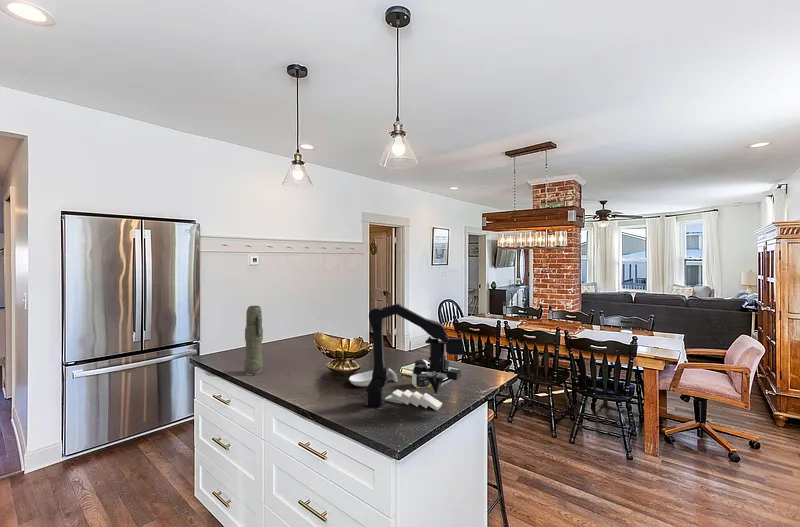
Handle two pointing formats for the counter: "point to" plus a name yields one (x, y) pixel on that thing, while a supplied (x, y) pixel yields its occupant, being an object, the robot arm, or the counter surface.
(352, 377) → the spoon rest
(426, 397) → the domino
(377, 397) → the robot arm
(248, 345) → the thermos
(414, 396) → the domino
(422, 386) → the medicine bottle
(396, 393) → the domino
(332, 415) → the counter surface
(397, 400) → the pale green domino
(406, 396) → the domino
